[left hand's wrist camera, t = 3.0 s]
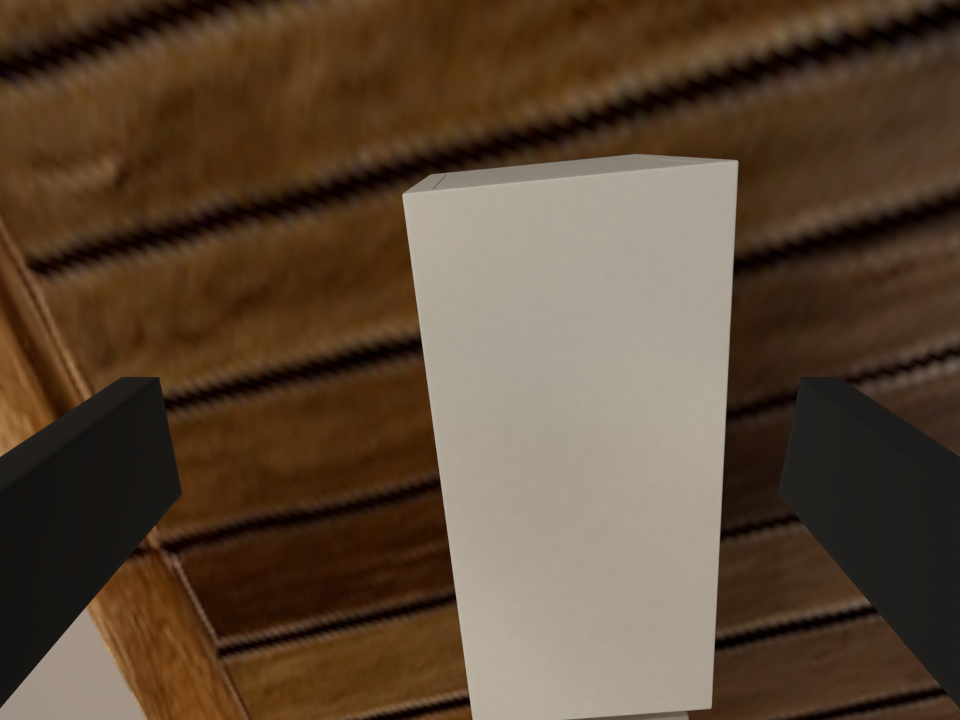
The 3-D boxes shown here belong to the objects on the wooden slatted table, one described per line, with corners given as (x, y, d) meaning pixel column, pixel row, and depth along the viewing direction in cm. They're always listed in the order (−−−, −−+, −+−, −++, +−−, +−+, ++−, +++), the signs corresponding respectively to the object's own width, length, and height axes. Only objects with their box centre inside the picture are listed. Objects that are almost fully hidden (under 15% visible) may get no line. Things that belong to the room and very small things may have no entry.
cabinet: (639, 536, 36) (712, 709, 25) (474, 550, 36) (473, 727, 25) (638, 153, 28) (739, 160, 18) (430, 174, 29) (401, 193, 18)
